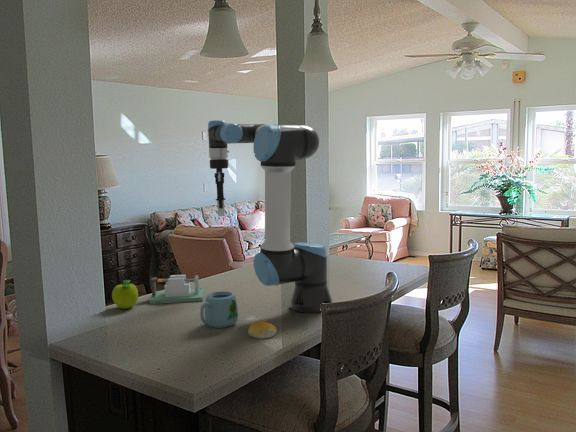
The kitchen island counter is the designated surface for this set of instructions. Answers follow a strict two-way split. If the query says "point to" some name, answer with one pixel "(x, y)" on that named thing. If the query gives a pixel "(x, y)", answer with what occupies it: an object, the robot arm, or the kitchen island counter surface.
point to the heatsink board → (177, 299)
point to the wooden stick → (167, 280)
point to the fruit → (125, 295)
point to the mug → (220, 310)
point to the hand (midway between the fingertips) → (221, 215)
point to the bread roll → (262, 330)
